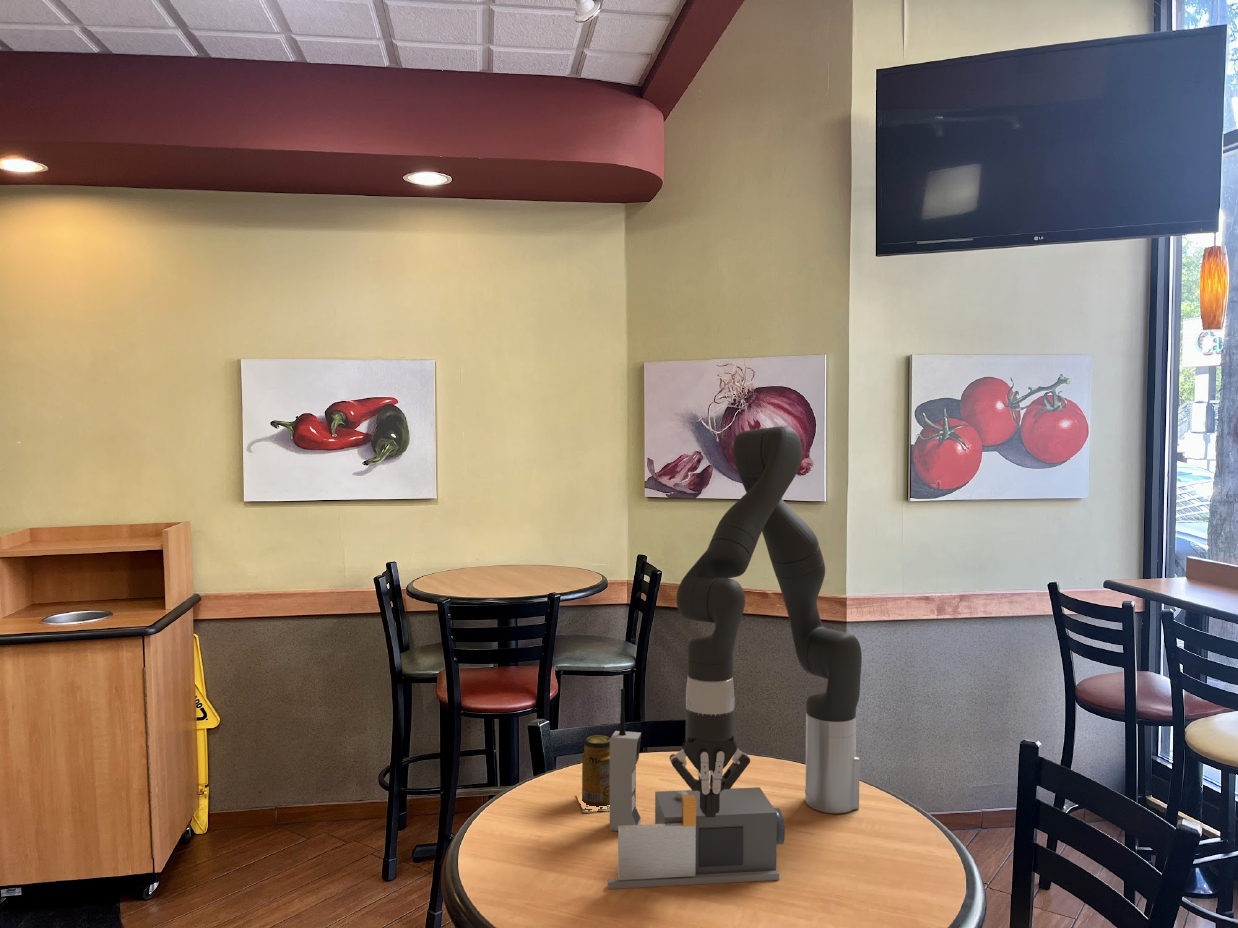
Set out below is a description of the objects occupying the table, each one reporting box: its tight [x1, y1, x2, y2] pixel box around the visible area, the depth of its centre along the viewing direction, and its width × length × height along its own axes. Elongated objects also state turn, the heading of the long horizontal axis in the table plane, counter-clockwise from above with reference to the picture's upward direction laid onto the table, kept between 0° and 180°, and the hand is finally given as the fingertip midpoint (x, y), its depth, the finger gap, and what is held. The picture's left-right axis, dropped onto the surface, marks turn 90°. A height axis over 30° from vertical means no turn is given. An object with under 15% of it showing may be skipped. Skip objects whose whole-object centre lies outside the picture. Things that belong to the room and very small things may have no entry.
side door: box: [617, 795, 696, 880], centre depth 131 cm, size 12×2×12 cm, turn 96°
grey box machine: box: [607, 786, 786, 890], centre depth 138 cm, size 29×12×11 cm, turn 96°
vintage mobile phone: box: [609, 688, 642, 832], centre depth 151 cm, size 4×5×25 cm
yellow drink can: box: [579, 734, 611, 814], centre depth 162 cm, size 7×8×12 cm
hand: (709, 814), depth 132 cm, fingers closed
